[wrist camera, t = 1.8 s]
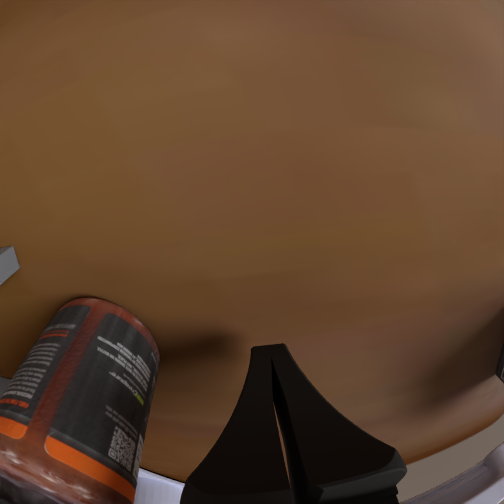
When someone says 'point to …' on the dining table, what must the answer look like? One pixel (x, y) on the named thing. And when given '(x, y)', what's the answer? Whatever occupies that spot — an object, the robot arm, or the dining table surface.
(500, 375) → the small box
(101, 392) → the supplement bottle
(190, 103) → the dining table surface
